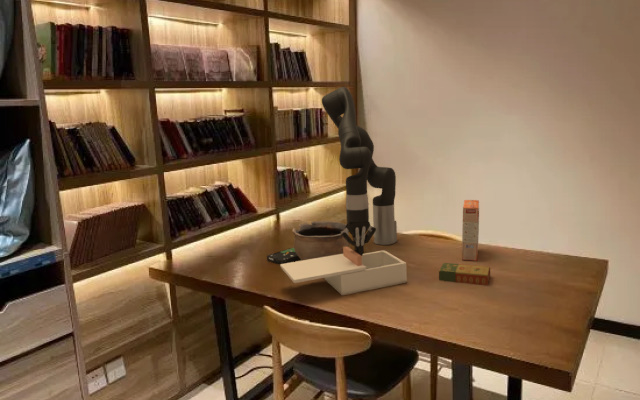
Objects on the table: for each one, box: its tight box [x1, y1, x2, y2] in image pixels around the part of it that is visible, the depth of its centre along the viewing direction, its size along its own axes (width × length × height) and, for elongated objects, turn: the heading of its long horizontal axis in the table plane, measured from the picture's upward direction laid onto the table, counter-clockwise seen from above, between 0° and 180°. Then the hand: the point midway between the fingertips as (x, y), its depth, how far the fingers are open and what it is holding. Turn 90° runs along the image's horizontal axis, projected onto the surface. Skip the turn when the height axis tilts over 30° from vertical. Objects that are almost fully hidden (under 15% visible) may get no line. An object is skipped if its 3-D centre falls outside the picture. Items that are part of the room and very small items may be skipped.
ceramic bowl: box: [292, 220, 350, 261], centre depth 182 cm, size 22×22×15 cm
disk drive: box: [266, 247, 301, 266], centre depth 193 cm, size 10×3×15 cm
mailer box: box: [324, 249, 408, 296], centre depth 164 cm, size 24×16×7 cm, turn 110°
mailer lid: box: [279, 246, 366, 284], centre depth 158 cm, size 25×16×4 cm, turn 110°
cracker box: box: [461, 199, 480, 262], centre depth 183 cm, size 14×6×21 cm, turn 161°
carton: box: [438, 262, 491, 286], centre depth 162 cm, size 8×16×4 cm, turn 65°
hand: (359, 255), depth 162 cm, fingers closed
